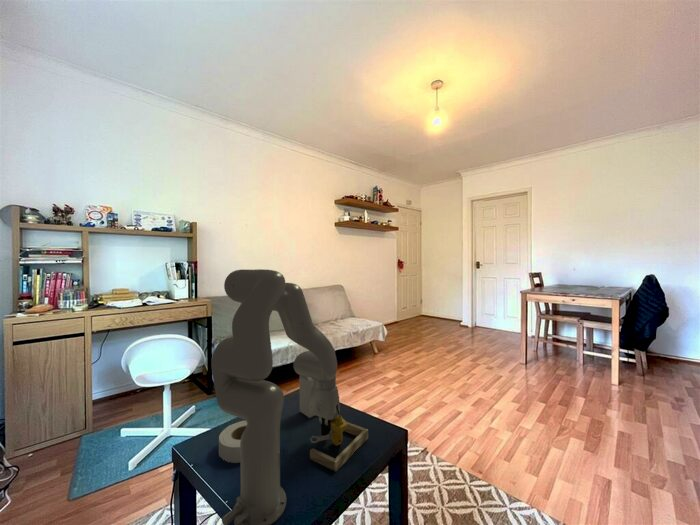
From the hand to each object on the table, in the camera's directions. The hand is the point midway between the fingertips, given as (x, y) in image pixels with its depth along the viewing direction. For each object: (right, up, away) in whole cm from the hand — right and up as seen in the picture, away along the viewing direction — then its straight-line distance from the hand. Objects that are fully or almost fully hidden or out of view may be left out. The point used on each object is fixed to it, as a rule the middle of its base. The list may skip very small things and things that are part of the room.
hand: (325, 433), depth 99 cm
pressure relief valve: (+1, -2, -4) cm, 4 cm away
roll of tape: (-27, -3, -4) cm, 28 cm away
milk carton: (-8, -2, +19) cm, 20 cm away
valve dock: (+5, -2, -4) cm, 7 cm away
